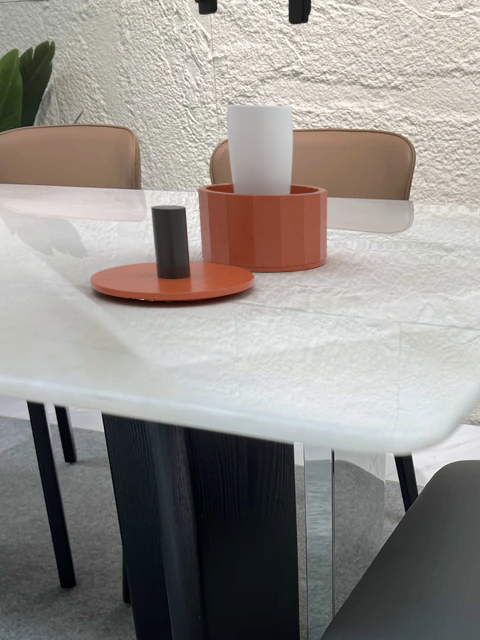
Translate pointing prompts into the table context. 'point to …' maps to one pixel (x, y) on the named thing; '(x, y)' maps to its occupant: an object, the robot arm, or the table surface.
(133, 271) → the lid
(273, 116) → the drinking glass
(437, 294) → the table surface
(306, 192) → the pot
